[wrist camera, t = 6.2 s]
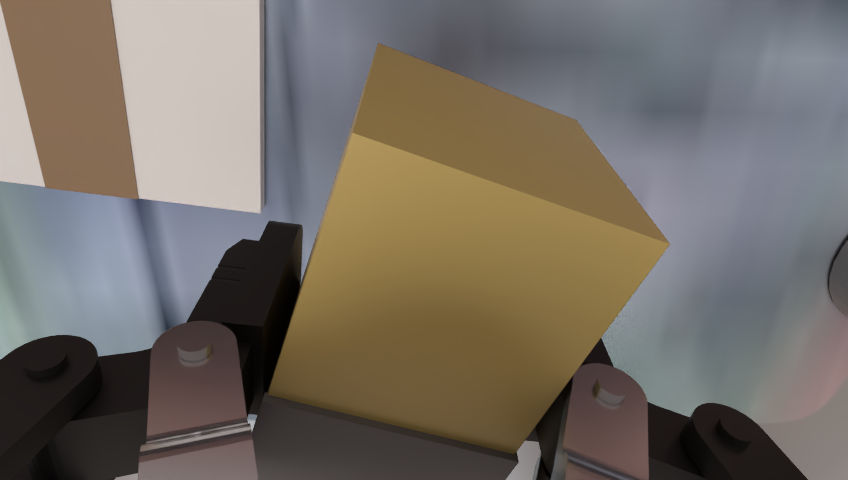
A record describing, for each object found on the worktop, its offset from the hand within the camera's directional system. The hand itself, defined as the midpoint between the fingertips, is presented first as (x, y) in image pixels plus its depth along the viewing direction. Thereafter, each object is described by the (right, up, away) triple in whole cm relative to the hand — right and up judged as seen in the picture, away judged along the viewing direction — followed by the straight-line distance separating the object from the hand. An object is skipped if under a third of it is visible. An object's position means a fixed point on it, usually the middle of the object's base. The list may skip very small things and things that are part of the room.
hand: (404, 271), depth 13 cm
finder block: (0, 0, +1) cm, 1 cm away
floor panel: (-13, +8, +9) cm, 18 cm away
